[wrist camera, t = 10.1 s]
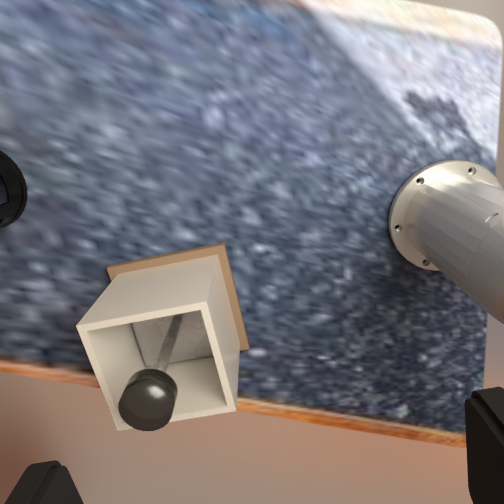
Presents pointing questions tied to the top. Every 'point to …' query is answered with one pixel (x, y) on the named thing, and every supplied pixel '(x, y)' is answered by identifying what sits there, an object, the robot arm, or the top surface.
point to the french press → (12, 190)
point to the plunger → (161, 367)
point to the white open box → (165, 304)
